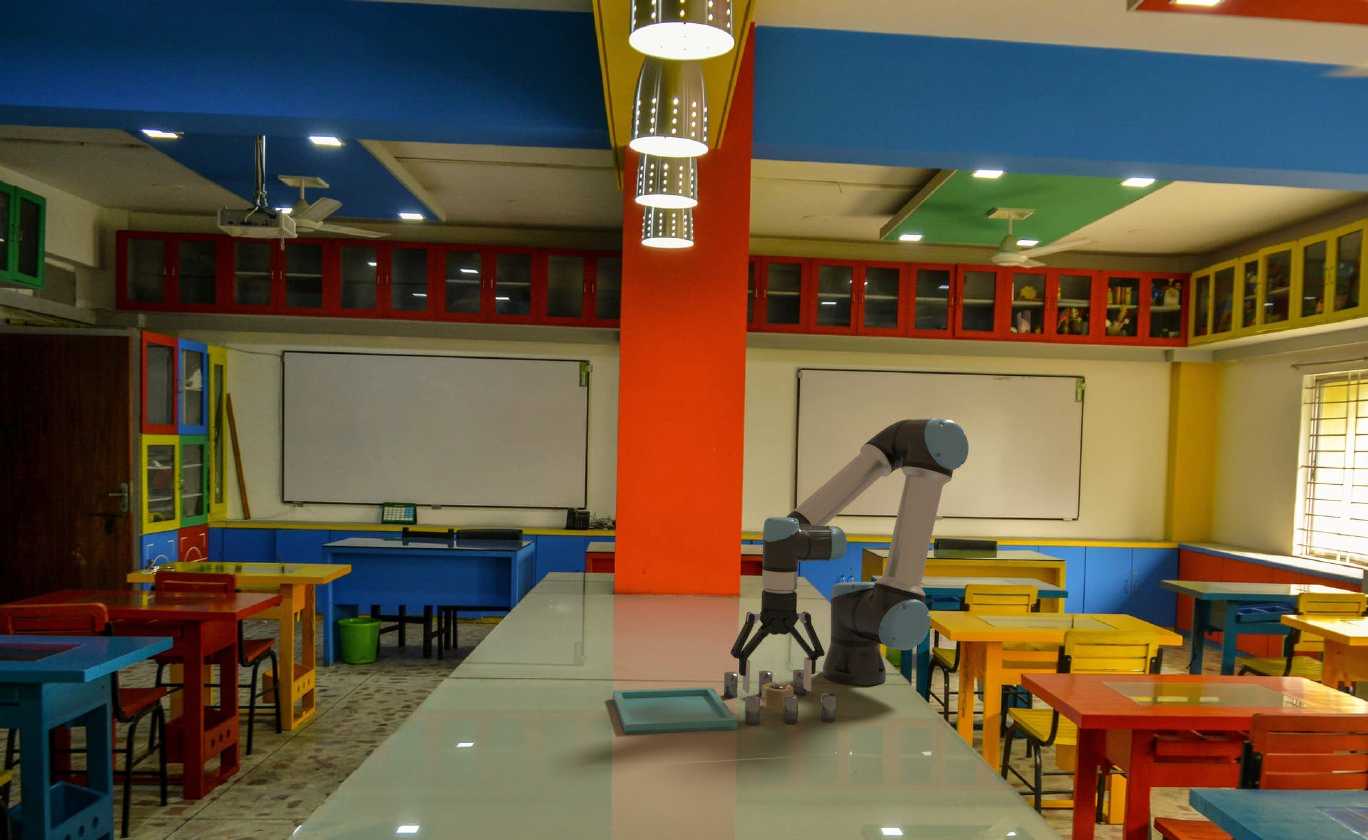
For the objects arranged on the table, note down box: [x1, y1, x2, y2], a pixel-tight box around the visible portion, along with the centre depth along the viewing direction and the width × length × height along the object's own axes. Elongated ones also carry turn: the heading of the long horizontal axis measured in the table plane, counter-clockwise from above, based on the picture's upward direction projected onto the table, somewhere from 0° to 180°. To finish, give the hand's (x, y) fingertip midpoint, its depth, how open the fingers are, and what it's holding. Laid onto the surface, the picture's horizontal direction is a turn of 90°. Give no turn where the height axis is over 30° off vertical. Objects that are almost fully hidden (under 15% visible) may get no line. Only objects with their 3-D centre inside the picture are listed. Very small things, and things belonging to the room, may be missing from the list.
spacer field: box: [723, 669, 837, 727], centre depth 178 cm, size 19×21×5 cm
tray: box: [612, 686, 739, 735], centre depth 172 cm, size 22×22×2 cm
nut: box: [760, 681, 794, 714], centre depth 178 cm, size 6×7×5 cm
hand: (776, 690), depth 178 cm, fingers open, 13 cm apart
